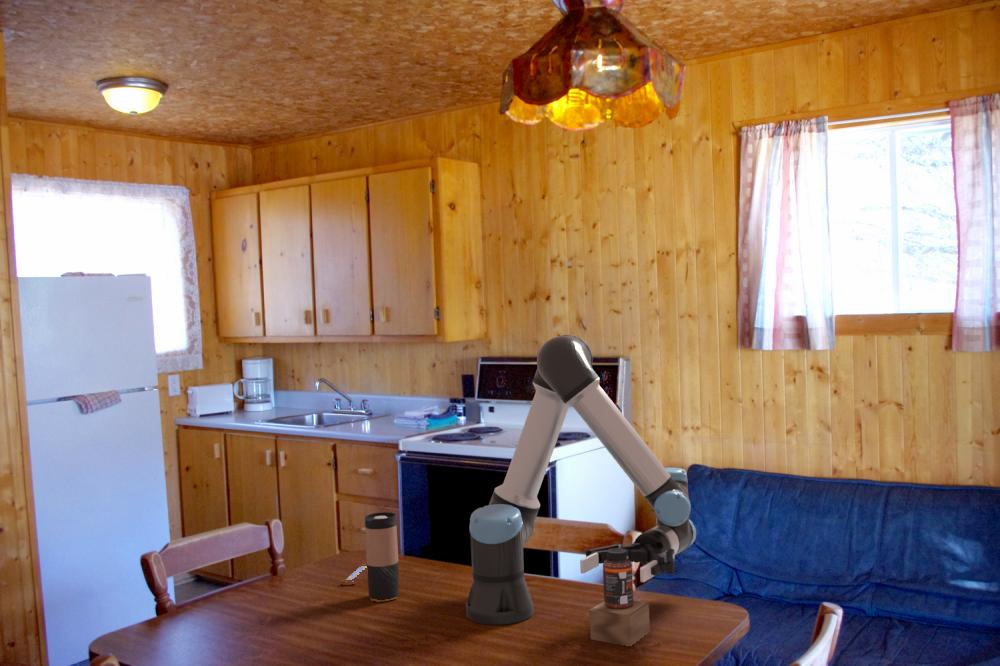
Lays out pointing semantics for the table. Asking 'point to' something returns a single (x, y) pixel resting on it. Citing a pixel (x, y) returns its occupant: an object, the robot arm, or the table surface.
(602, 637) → the light wooden box
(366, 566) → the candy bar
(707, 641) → the table surface
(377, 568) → the travel mug
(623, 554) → the supplement bottle
